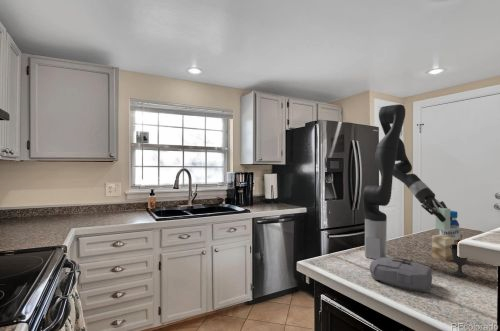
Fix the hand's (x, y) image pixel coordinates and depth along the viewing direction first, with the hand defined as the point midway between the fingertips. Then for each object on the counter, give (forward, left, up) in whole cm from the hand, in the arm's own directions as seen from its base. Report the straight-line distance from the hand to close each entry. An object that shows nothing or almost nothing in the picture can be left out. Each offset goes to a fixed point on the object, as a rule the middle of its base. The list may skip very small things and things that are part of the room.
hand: (447, 220), depth 122 cm
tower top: (+1, +2, -13) cm, 13 cm away
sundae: (-19, -4, -18) cm, 27 cm away
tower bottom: (+1, +2, -18) cm, 18 cm away
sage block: (+1, +2, -4) cm, 5 cm away
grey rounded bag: (-42, +13, -18) cm, 48 cm away
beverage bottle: (+19, 0, -18) cm, 26 cm away
